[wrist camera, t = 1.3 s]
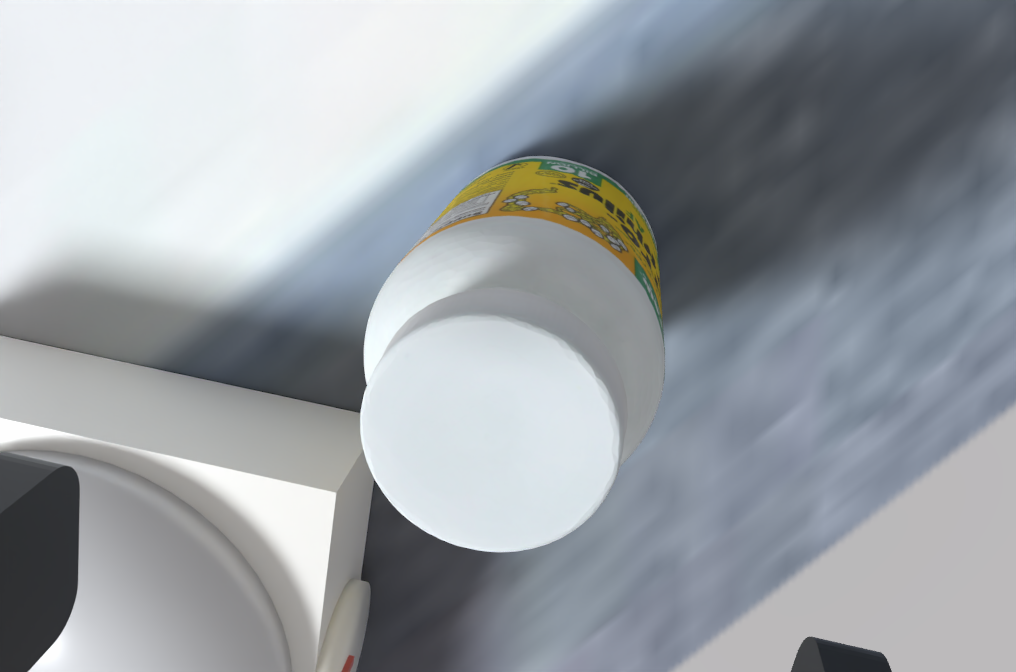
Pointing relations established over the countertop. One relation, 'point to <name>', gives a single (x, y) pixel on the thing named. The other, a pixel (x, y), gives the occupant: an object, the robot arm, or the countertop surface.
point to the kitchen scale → (197, 516)
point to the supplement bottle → (515, 357)
